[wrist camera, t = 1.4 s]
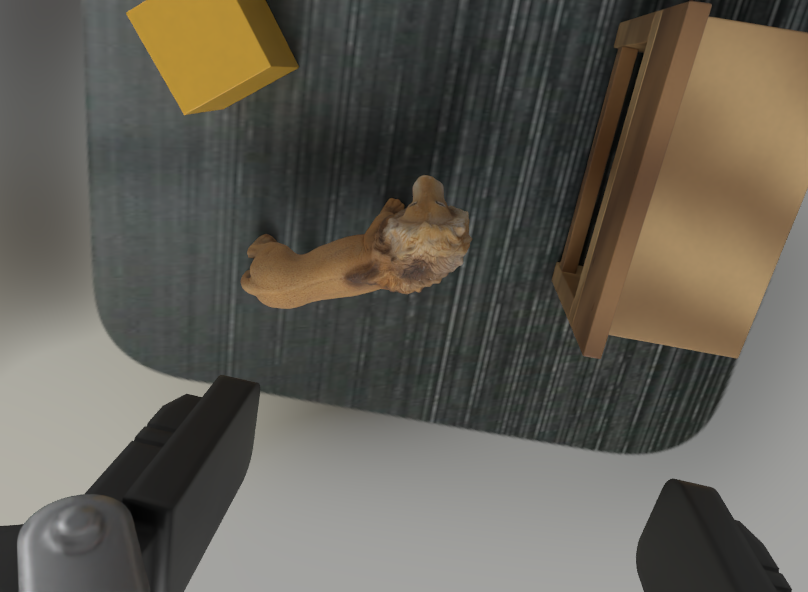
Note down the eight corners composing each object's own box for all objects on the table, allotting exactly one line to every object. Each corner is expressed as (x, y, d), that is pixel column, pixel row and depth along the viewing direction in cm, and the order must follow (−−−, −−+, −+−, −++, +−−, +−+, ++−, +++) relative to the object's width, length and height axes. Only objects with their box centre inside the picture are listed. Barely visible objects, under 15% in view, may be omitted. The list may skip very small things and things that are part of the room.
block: (175, 21, 32) (125, 13, 27) (252, -26, 31) (214, -44, 26) (223, 109, 33) (184, 115, 29) (299, 67, 32) (271, 66, 27)
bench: (686, 305, 35) (768, 390, 25) (551, 280, 35) (582, 356, 26) (779, 48, 30) (924, 38, 20) (620, 22, 30) (689, -1, 21)
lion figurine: (449, 147, 33) (444, 173, 24) (486, 233, 34) (492, 285, 26) (227, 247, 36) (155, 300, 28) (269, 322, 38) (213, 393, 29)
